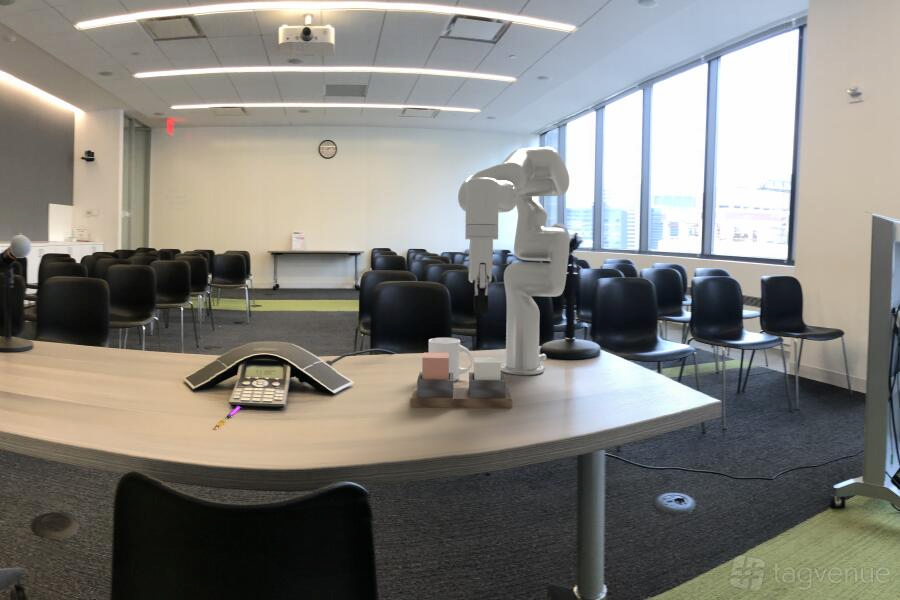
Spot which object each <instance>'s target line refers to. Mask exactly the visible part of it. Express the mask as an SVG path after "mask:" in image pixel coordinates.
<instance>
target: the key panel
mask: <svg viewBox="0 0 900 600" xmlns="http://www.w3.org/2000/svg"><path fill="white" fill-rule="evenodd" d="M453 374H454V372H449V380H427V379H422V371H419V374H418V376H417V382H416V386H414V387H413V389H412V393H411V396H410V407H411V408H472V409H473V408H475V409H476V408H479V409H480V408H481V409H482V408H483V409H486V408H488V409H490V408H491V409H493V408H494V409H495V408H498V409H512V408H513V398H512V395H511V391H510V388H509V387H507V381H506V378H505V375H504V374H505V373H504V372H501V380H474V371H473V372H472V371H471V372H469V371H468V387H455V386H454V381H453Z"/></svg>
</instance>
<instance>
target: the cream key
mask: <svg viewBox="0 0 900 600" xmlns="http://www.w3.org/2000/svg"><path fill="white" fill-rule="evenodd" d="M501 365H502V362H501V358H500V356H498V357H497V356H494V357H493V356H492V357H491V356H490V357H489V356H486V357H485V356H483V357H482V356H474V357H473V372H474V380H501V373H502V371H501Z"/></svg>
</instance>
